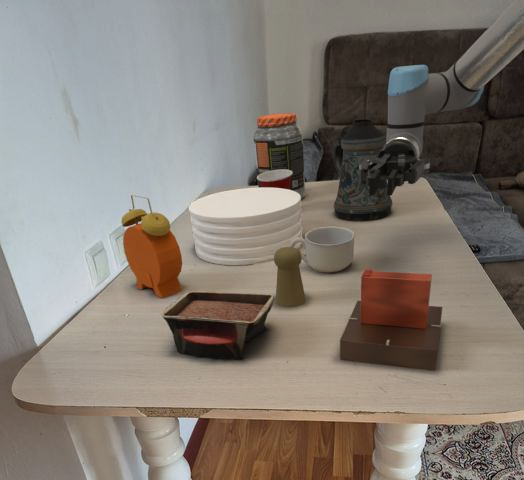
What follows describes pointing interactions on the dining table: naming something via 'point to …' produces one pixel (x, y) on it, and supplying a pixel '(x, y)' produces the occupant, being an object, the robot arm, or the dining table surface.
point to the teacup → (327, 248)
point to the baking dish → (217, 322)
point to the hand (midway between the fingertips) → (380, 186)
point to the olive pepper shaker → (289, 277)
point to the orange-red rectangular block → (395, 299)
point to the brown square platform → (392, 342)
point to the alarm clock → (152, 251)
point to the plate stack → (245, 224)
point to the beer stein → (347, 164)
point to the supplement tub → (280, 148)
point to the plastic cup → (276, 179)
